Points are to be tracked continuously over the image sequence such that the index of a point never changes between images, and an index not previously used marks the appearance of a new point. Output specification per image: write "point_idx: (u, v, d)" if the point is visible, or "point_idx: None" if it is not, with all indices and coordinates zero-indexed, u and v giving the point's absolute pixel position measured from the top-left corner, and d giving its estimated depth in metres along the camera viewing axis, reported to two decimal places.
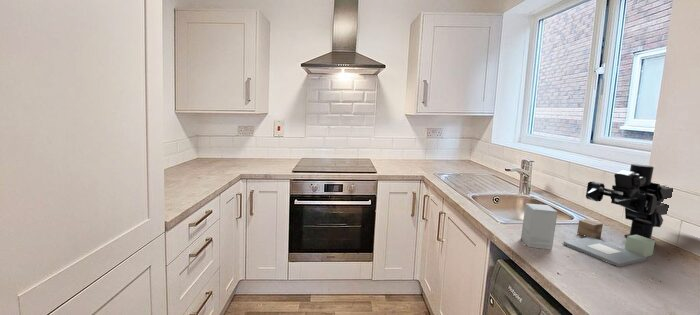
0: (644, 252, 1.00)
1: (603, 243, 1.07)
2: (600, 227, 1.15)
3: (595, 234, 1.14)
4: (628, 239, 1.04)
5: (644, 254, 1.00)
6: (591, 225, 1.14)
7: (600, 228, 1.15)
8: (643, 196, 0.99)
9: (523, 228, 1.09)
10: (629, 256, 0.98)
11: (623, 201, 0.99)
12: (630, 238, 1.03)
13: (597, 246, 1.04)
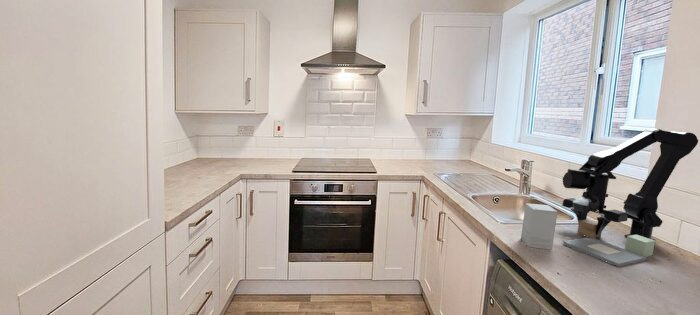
0: (644, 252, 1.00)
1: (603, 243, 1.07)
2: None
3: (595, 234, 1.14)
4: (628, 239, 1.04)
5: (644, 254, 1.00)
6: (591, 225, 1.14)
7: None
8: None
9: (523, 228, 1.09)
10: (629, 256, 0.98)
11: (598, 232, 1.14)
12: (630, 238, 1.03)
13: (597, 246, 1.04)
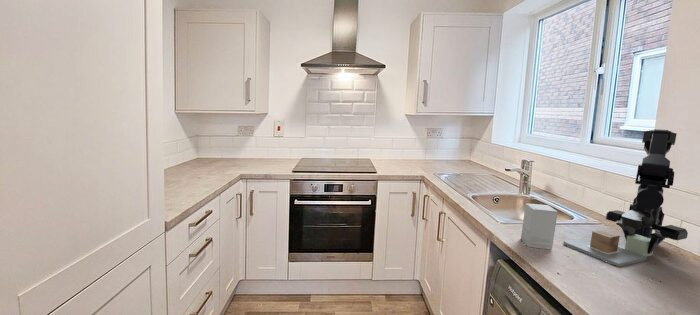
0: (644, 251, 1.00)
1: None
2: (617, 239, 1.00)
3: (611, 248, 1.00)
4: (628, 239, 1.04)
5: (644, 254, 1.00)
6: (606, 237, 1.00)
7: (617, 241, 1.01)
8: None
9: (523, 228, 1.09)
10: (629, 256, 0.98)
11: (651, 250, 1.00)
12: (630, 238, 1.03)
13: None
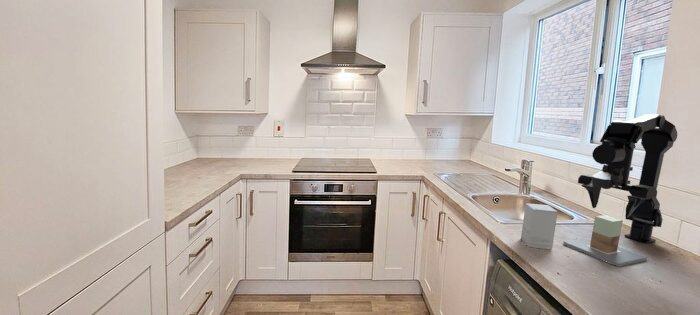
0: (611, 231, 0.99)
1: None
2: (617, 239, 1.00)
3: (611, 248, 1.00)
4: (596, 219, 1.02)
5: (610, 234, 0.99)
6: (607, 237, 1.00)
7: (617, 241, 1.01)
8: None
9: (523, 228, 1.09)
10: (629, 256, 0.98)
11: (628, 214, 0.96)
12: (598, 218, 1.02)
13: None
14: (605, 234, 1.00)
